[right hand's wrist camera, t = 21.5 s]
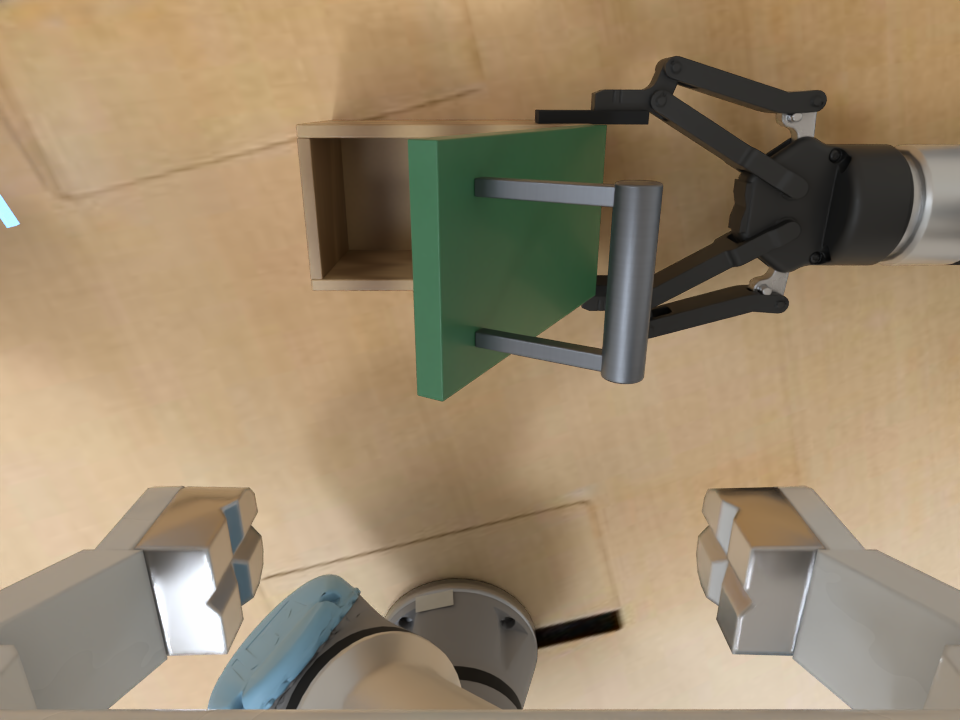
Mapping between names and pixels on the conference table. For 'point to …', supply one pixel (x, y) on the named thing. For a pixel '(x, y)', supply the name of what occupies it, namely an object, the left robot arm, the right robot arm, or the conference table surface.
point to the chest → (367, 197)
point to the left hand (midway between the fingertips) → (534, 205)
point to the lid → (524, 253)
